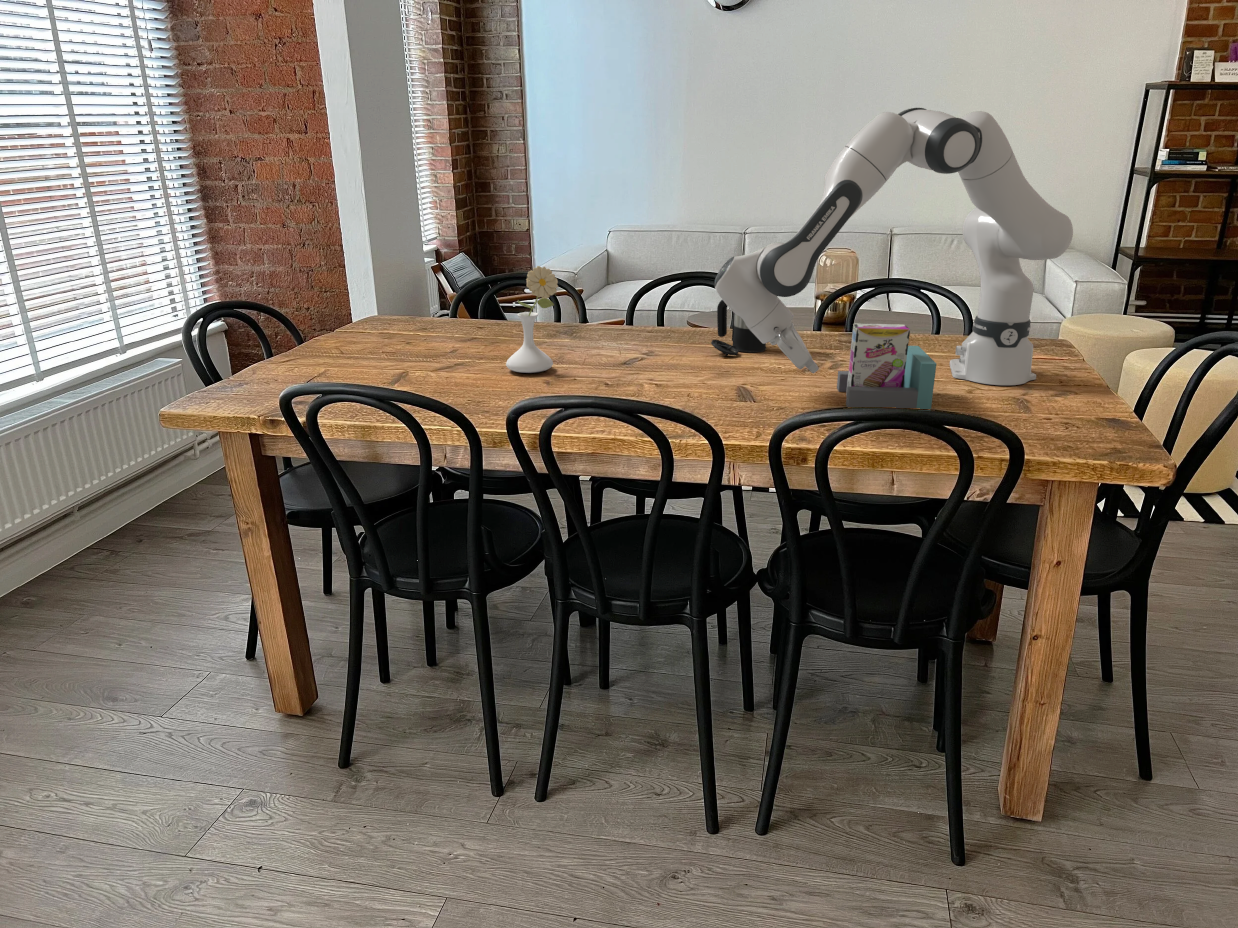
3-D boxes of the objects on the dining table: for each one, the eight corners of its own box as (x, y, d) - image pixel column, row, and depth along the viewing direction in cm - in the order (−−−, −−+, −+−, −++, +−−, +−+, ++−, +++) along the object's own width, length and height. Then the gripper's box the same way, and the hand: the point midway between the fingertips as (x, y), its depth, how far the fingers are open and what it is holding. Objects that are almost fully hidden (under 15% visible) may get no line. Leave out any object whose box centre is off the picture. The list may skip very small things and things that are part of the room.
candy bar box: (849, 403, 196) (856, 327, 190) (845, 397, 200) (851, 322, 195) (902, 404, 195) (911, 328, 189) (897, 397, 200) (905, 323, 194)
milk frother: (767, 346, 246) (770, 290, 241) (765, 360, 232) (768, 301, 227) (714, 344, 249) (716, 289, 244) (709, 357, 234) (711, 299, 229)
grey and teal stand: (836, 388, 207) (840, 344, 204) (913, 389, 206) (918, 345, 202) (848, 408, 192) (852, 362, 189) (930, 410, 191) (936, 363, 187)
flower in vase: (507, 377, 216) (502, 270, 207) (505, 365, 227) (500, 263, 218) (562, 375, 218) (559, 269, 209) (557, 363, 229) (555, 262, 220)
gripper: (789, 323, 184) (834, 371, 187) (779, 305, 203) (820, 349, 206) (765, 344, 186) (810, 392, 188) (758, 324, 205) (798, 368, 208)
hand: (815, 369), depth 197 cm, fingers closed
